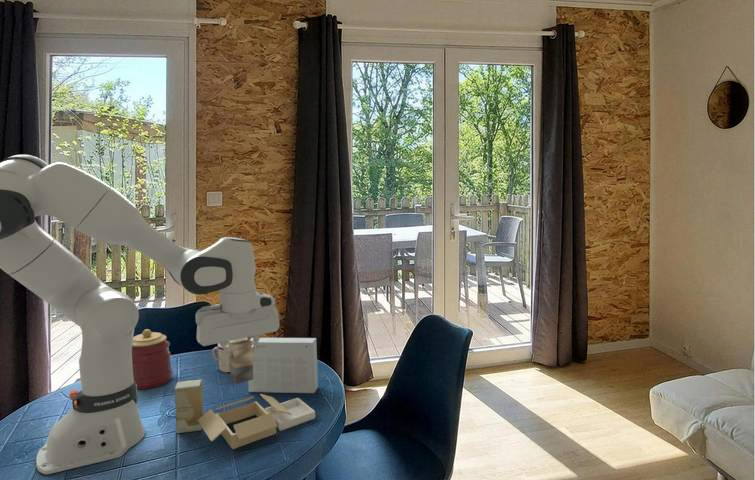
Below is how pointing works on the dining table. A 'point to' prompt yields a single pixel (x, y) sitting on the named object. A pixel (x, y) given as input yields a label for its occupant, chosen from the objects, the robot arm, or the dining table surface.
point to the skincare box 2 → (284, 366)
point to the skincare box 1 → (188, 405)
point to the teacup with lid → (221, 358)
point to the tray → (292, 413)
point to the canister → (151, 359)
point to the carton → (244, 430)
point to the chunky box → (241, 360)
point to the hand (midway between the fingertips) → (240, 354)
